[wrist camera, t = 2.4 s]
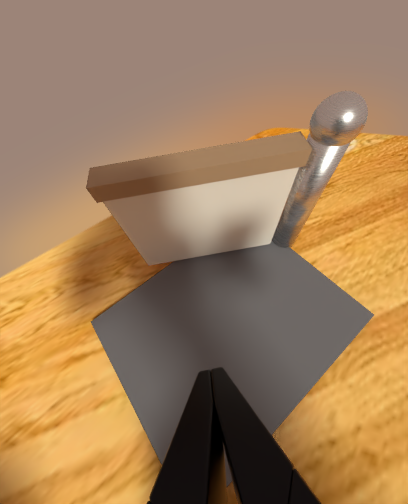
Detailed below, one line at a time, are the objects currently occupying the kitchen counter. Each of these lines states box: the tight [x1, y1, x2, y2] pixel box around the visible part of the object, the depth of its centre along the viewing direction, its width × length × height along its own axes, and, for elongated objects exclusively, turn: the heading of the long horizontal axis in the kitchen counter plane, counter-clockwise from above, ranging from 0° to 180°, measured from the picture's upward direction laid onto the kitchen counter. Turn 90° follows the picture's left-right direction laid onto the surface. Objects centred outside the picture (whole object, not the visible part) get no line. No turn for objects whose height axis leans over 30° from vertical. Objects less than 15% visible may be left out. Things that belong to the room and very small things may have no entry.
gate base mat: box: [91, 241, 374, 488], centre depth 19 cm, size 16×20×1 cm
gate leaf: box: [86, 132, 312, 266], centre depth 17 cm, size 13×2×11 cm, turn 99°
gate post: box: [272, 91, 368, 248], centre depth 17 cm, size 3×3×14 cm
